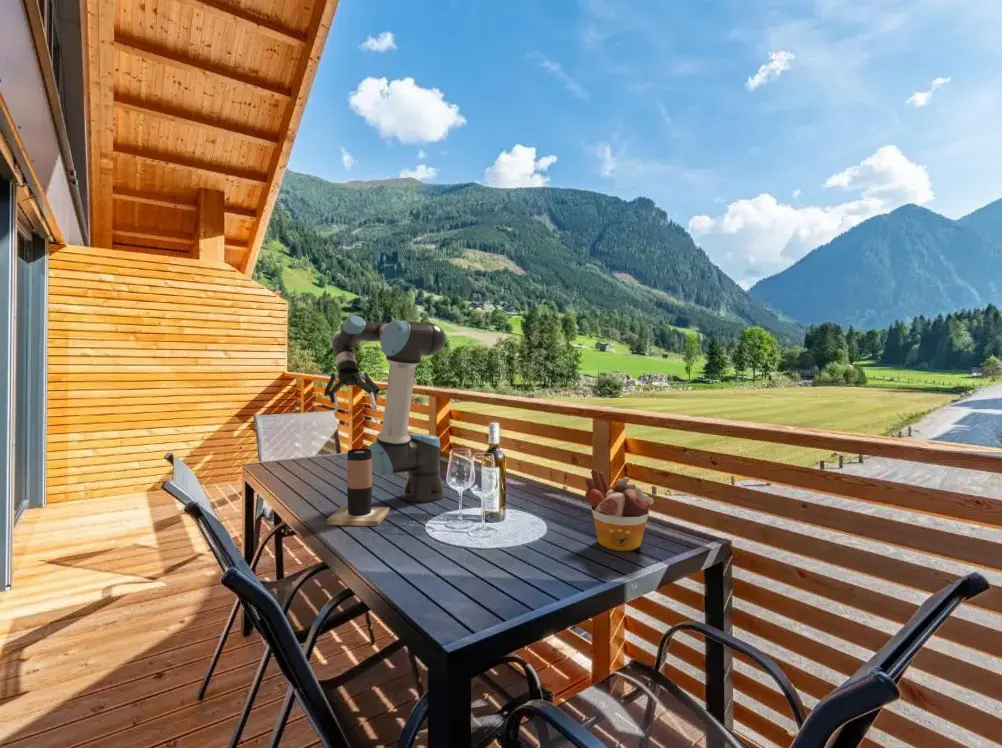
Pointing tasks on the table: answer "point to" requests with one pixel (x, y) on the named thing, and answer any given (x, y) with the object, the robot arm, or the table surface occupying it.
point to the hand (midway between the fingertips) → (356, 408)
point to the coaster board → (358, 517)
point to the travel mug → (359, 481)
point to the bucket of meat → (618, 512)
